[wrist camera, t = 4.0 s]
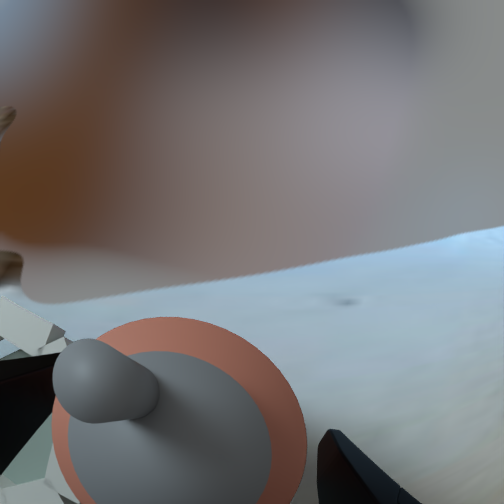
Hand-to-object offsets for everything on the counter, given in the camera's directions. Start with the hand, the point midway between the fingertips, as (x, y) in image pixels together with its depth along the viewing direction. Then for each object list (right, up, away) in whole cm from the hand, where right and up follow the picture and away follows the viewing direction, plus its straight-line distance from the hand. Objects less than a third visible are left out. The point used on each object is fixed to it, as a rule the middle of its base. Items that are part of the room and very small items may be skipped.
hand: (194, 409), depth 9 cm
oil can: (-1, -4, +6) cm, 8 cm away
